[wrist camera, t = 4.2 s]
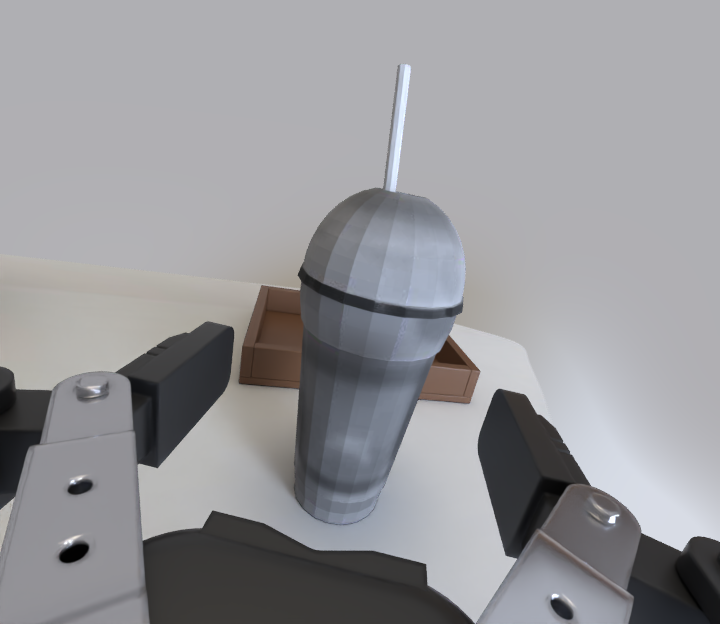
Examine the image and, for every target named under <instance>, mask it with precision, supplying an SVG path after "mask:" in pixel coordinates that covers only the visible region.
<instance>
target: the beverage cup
mask: <svg viewBox="0 0 720 624" xmlns="http://www.w3.org/2000/svg"><path fill="white" fill-rule="evenodd" d="M410 71H411V67H410V66H409V65H406V64H400V65H398V70H397V78H396V87H395V95H394V103H393V112H392V120H391V129H390V137H389V145H388V153H387V162H386V170H385V179H384V187H383V189H381V188H373V189H369V190H364V191H361V192H359V193H357V194H355V195H352V196H350V197H349V198H347V199H345V200H344V201H342V202H341V203H339V204H338V205H337V206H336V207H335V208H334V209H333V210H332V211H330V212H329V213H328V215H327V216H326V217H325V218H324V220H323V221H322V222H321V223H320V225H319V227H318V228H317V230H316V232H315V234H314V235H313V237H312V239H311V241H310V244H309V246H308V249H307V252H306V255H305V259H304V262H303V264H302V266H301V268H300V271H299V273H298V276H299V278H300V280H301V289H300V305H301V319H302V321H303V323H304V324H303V339H302V354H301V370H300V385H299V400H298V415H297V430H296V445H295V461H294V465H295V479H296V480H295V485H294V489H295V494H296V498H297V500H298V501H299V503H300V504H301V506H302V507H303V509H304V510H306V511H307V512H308V513H309V514H311V515H312V516H313V517H315V518H317V519H320V520H322V521H324V522H327V523H333V524H341V525H342V524H349V523H355V522H357V521H359V520H361V519H363V518H365V517H367V516H368V514H369V513H370V512H371V511H372V510H373V509H374V506H375V503H376V500H377V498H378V496H379V494H380V492H381V489H382V488H383V487H384V485H385V483H386V480H387V477H388V475H389V472H390V470H391V467H392V465H393V462H394V460H395V457H396V454H397V452H398V449H399V447H400V444H401V442H402V439H403V437H404V434H405V432H406V429H407V426H408V424H409V421H410V419H411V416H412V414H413V411H414V409H415V406H416V403H417V401H418V398H419V396H420V393H421V391H422V388H423V386H424V383H425V381H426V378H427V375H428V373H429V370H430V368H431V365H432V363H433V360H434V358H435V355H436V353H438V352H439V351H440V350H441V348H442V346H443V345H444V343H445V341H446V339H447V337H448V335H449V333H450V331H451V330H452V327H453V324H454V321H455V318H456V315H458V314H460V313H462V308H463V296H462V295H463V290H464V284H465V270H466V268H465V256H464V252H463V248H462V244H461V240H460V238H459V236H458V233H457V231H456V229H455V227H454V226H453V224H452V223H451V221H450V219H449V218H448V217H447V216H446V215H445V213H444V212H443V211H442V210H441V209H440V208H439V207H438V206H437V205H435V204H434V203H433V202H432V201H430V200H429V199H427V198H424V197H419V196H414V195H410V194H405V193H401V192H396V184H397V176H398V167H399V160H400V152H401V144H402V136H403V127H404V119H405V111H406V102H407V95H408V87H409V79H410Z"/></svg>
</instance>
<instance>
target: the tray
mask: <svg viewBox="0 0 720 624" xmlns="http://www.w3.org/2000/svg"><path fill="white" fill-rule="evenodd" d="M303 324H304V323H303V321H302V319H301V305H300V291H299V290H291V289H284V288H277V287H269V286H263V285H262V286H261V289H260V292H259V295H258V298H257V302H256V305H255V308H254V311H253V314H252V317H251V321H250V324H249V327H248V330H247V333H246V337H245V340H244V343H243V346H242V356H241V366H240V377H239V383H242V384H254V385H265V386H277V387H288V388H299V385H300V370H301V354H302V339H303ZM479 374H480V370H479V369H478V368H477V367H476V366H475V364H474V363H473V362H472V361H471V360H470V359H469V358H468V356H467V355H466V354H465V353H464V352H463V351H462V350H461V348H460V347H459V346H458V345H457V344H456V343H455V342H454V340H453V339H452V338H451V337H450V336H449V335H448V337H447V339H446V341H445V343H444V345H443V346H442V348H441V350H440V351H439V352H438V353H436V355H435V358H434V360H433V363H432V365H431V368H430V370H429V373H428V375H427V378H426V381H425V383H424V386H423V388H422V391H421V393H420V396H419V398H418V399H426V400H438V401H449V402H461V403H470V401H471V397H472V395H473V392H474V389H475V386H476V383H477V380H478V377H479Z"/></svg>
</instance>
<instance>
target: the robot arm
mask: <svg viewBox="0 0 720 624" xmlns="http://www.w3.org/2000/svg"><path fill="white" fill-rule="evenodd" d="M233 342H234V330H233V328H232V327H230V326H226V325H222V324H217V323H213V322H205V323H204V324H202V325H201V326H199V327H198V328H196V329H195V330H193V331H192V332H191V333H183V334H180V335H176V336H173V337H170V338H168V339H166V340H165V341H163V342H161V343H160V344H158V345H157V347H154V348H152V349H151V350H149V351H148V352H147V353H146V354H143V355H141V356H140V357H138V358H137V359H135V360H134V361H132V362H131V363H129V364H128V365H126V366H124V367H123V368H121V369H120V370H118V371H117V372H115V373H113V372H88V373H83V374H79V375H75V376H72V377H70V378H67V379H65V380H63V381H62V382H60V383H59V384H57V385H56V386H55V387H54V389H53V391H49V390H19V389H16V388H15V380H14V374H13V372H12V371H10V370H9V369H7V368H4V367H0V509H1V508H3V507H4V506H5V505H6V504H7V503H8V502H9V501H11V500H12V499H13V498H14V497H15V500H14V503H13V507H12V511H11V515H10V518H9V522H8V526H7V530H6V533H5V537H4V541H3V545H2V549H1V552H0V624H475V623H474V622H473V621H472V620H471V619H470V618H469V617H468V616H467V615H466V614H465V613H464V612H463V611H462V610H461V609H460V608H459V607H458V606H457V605H455V604H454V603H453V602H452V601H450V600H449V599H448V598H447V597H445V596H444V595H442V594H441V593H439V592H438V591H436V590H435V589H433V588H431V587H430V586H428V585H427V571H426V564H423V563H419V562H415V561H411V560H407V559H403V558H399V557H395V556H391V555H387V554H383V553H379V552H376V551H319V550H314V549H311V548H309V547H307V546H305V545H303V544H301V543H299V542H298V541H296V540H294V539H292V538H290V537H288V536H286V535H285V534H283V533H281V532H279V531H277V530H275V529H273V528H271V527H270V526H268V525H266V524H264V523H260V522H256V521H252V520H248V519H244V518H240V517H236V516H232V515H228V514H224V513H220V512H216V511H212V512H211V514H210V516H209V517H208V519H207V521H206V522H205V524H204V526H203V528H195V529H185V530H178V531H173V532H169V533H165V534H161V535H158V536H155V537H152V538H149V539H146V540H144V541H142V527H141V512H140V497H139V483H138V468H137V465H138V464H143V465H147V466H152V467H156V468H158V467H159V466H160V465H161V464H162V462H163V461H164V460H165V459H166V458H167V457H168V456H169V454H170V453H171V452H172V451H173V450H174V449H175V447H176V446H177V445H178V444H179V443H180V442H181V441H182V439H183V438H184V437H185V436H186V435H187V434H188V433H189V431H190V430H191V429H192V428H193V427H194V426H195V425H196V423H197V422H198V421H199V420H200V419H201V418H202V417H203V415H204V414H205V413H206V412H207V411H208V410H209V409H210V407H211V406H212V405H213V404H214V403H215V402H216V401H217V399H218V398H219V397H220V396H221V395H222V394H223V392H224V391H225V389H226V387H227V385H228V382H229V379H230V374H231V364H232V353H233ZM478 455H479V459H480V462H481V466H482V470H483V474H484V477H485V481H486V485H487V488H488V492H489V496H490V499H491V503H492V507H493V510H494V514H495V518H496V521H497V525H498V529H499V532H500V536H501V540H502V543H503V547H504V551H505V555H506V556H509V557H513V558H517V560H516V562H515V564H514V565H513V567H512V568H511V570H510V571H509V573H508V574H507V576H506V578H505V579H504V581H503V582H502V584H501V585H500V587H499V588H498V590H497V592H496V593H495V595H494V596H493V598H492V599H491V601H490V602H489V604H488V606H487V607H486V609H485V610H484V612H483V613H482V615H481V616H480V618H479V620H478V621H477V623H476V624H720V542H718V541H716V540H713V539H710V538H706V537H699V536H698V537H693V538H691V539H690V541H689V542H688V544H687V545H686V547H685V548H684V550H683V551H682V552H681V551H679V550H677V549H674V548H673V547H670V546H668V545H666V544H664V543H662V542H659V541H657V540H655V539H653V538H651V537H648V536H646V535H644V534H642V533H641V528H640V525H639V523H638V521H637V520H636V518H635V517H634V515H633V514H632V513H631V512H630V511H629V510H628V509H627V508H626V507H625V506H624V505H623V504H622V503H620V502H619V501H618V500H616V499H615V498H614V497H612V496H610V495H609V494H607V493H605V492H603V491H601V490H599V489H597V488H595V487H592V486H591V485H590V483H589V482H588V480H587V479H586V477H585V475H584V474H583V472H582V471H581V469H580V467H579V466H578V464H577V462H576V461H575V460H574V458H573V456H572V455H570V451H569V450H568V448H567V446H566V445H565V444H564V443H563V440H562V438H561V436H560V435H559V433H558V432H557V430H556V428H555V427H554V426H552V425H551V424H550V423H549V422H548V421H547V420H546V419H545V418H544V417H542V416H541V415H537V414H536V412H535V410H534V408H533V407H532V405H531V403H530V401H529V400H528V398H527V396H526V395H524V394H520V393H516V392H511V391H507V390H503V389H498V390H496V392H495V393H494V395H493V398H492V401H491V403H490V406H489V409H488V412H487V414H486V417H485V420H484V423H483V425H482V428H481V431H480V434H479V439H478Z"/></svg>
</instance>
